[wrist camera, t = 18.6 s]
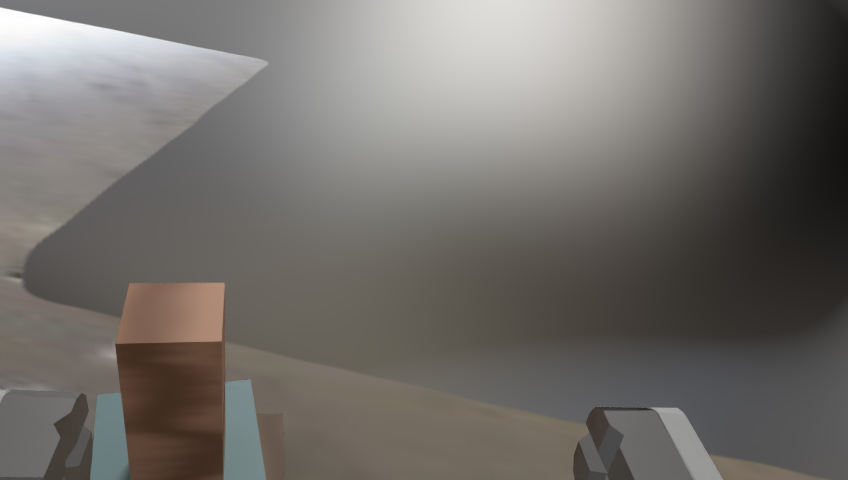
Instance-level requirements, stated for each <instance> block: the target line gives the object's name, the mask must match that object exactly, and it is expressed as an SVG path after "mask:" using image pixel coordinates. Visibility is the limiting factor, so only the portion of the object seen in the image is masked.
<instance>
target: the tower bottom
mask: <svg viewBox="0 0 848 480" xmlns="http://www.w3.org/2000/svg"><path fill="white" fill-rule="evenodd" d="M256 417H257V424H258V430H259V437H260V443H261V449H262V456H263V462H264V469H265V475H266V480H284V469H283V414H256ZM93 440H94V435H93V439H92V441H93ZM90 473H91V469H90ZM88 480H90V474H89V479H88Z"/></svg>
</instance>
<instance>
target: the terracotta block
mask: <svg viewBox="0 0 848 480" xmlns="http://www.w3.org/2000/svg"><path fill="white" fill-rule="evenodd" d="M115 345H116V354H117V363H118V372H119V381H120V389H121V398H122V407H123V416H124V425H125V434H126V443H127V451H128V460H129V469H130V478H131V480H224V458H225V432H226V420H225V283H130V284H129V289H128V293H127V297H126V301H125V305H124V310H123V314H122V318H121V322H120V326H119V330H118V335H117V339H116V343H115Z"/></svg>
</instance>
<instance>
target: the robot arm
mask: <svg viewBox="0 0 848 480" xmlns="http://www.w3.org/2000/svg"><path fill="white" fill-rule="evenodd" d="M88 412H89V410H88V404H87V398H86V395H84V394H83V393H72V392H52V391H32V390H13V389H12V390H0V480H88V479H89V474H90V469H91V463H92V453H93V441H92V433H91V431H90V430H88V429H87V428H86V427H85V426H84V422H85V420H86V417H87V414H88ZM586 424H587V427H588V429H589V432H590V433H588V434H587V435H586V436H585V437H583V438H582V439H581V440H579V441H578V444H577V447H576V450H575V453H574V466H573V472H574V478H575V480H723V479H722V477H721V475H720V474H719V472H718V470H717V468H716V467H715V465H714V463H713V462H712V460H711V458H710V457H709V455H708V453H707V451H706V450H705V448H704V446H703V445H702V443H701V441H700V440H699V438H698V436H697V435H696V433H695V431H694V429H693V428H692V426H691V424H690V422H689V421H688V419H687V418H686V416H685V414H684V413H683V412H682V411H681V410H679V409H678V408H641V407H639V408H638V407H595V408H594V409H593V410H592V411H591V412H590V414H589V416H588V418H587V421H586Z"/></svg>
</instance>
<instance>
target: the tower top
mask: <svg viewBox="0 0 848 480" xmlns="http://www.w3.org/2000/svg"><path fill="white" fill-rule="evenodd" d="M225 420H226V432H225V458H224V480H266V475H265V469H264V462H263V456H262V449H261V443H260V437H259V430H258V424H257V417H256V411H255V405H254V398H253V392H252V385H251V379H250V380H240V381H230V382H225ZM90 480H131V478H130V469H129V460H128V451H127V443H126V434H125V425H124V416H123V407H122V398H121V393H111V394H101V395H98V396H97V407H96V418H95V429H94V440H93V453H92V463H91V473H90Z"/></svg>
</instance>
